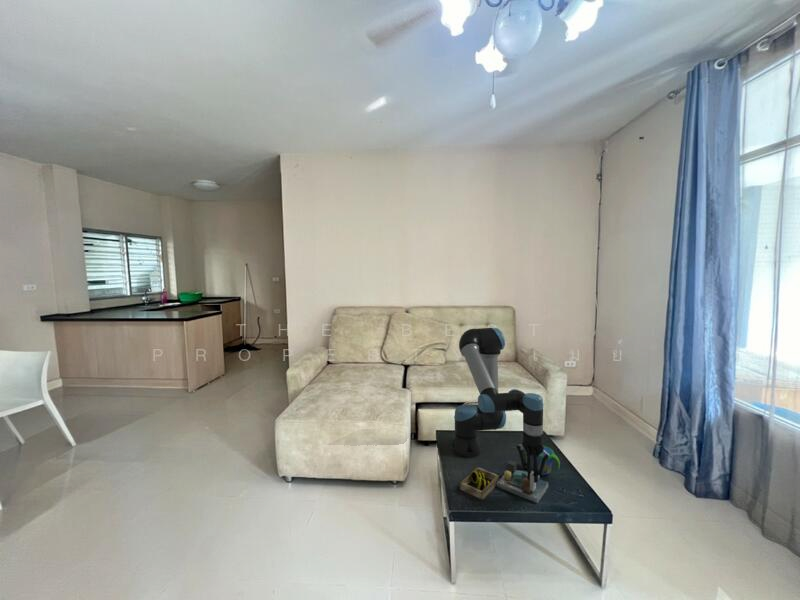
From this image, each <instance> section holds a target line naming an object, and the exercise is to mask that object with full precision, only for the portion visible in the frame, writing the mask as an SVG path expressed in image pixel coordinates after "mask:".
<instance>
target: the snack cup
mask: <svg viewBox="0 0 800 600" xmlns="http://www.w3.org/2000/svg"><path fill="white" fill-rule="evenodd" d="M543 447H544V450H545V451H546V452H547V453H550V456H549V457H548V458H547V461H546V464H545V468H544V471H543V473H542V475H541V476H548V475H550V474H551V469H552V465H553V464H552V463H553V460H554V459H555V461H556V463H557V468H556V469H557V471H559V470H560V468H561V467H560V466H561V462H560V459H559V457H558V456H557V454H555V452H554V450H553V449H552V448H550V447H549V446H547V445H546V446H545V445H543ZM524 452H525V457H526V460H527V452H526V451H525V450H524ZM542 459H543V453H541V454H540V455H539V469H540V466H541V462H542ZM532 469H533V470H532V471H534V459H533V456H532Z"/></svg>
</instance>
